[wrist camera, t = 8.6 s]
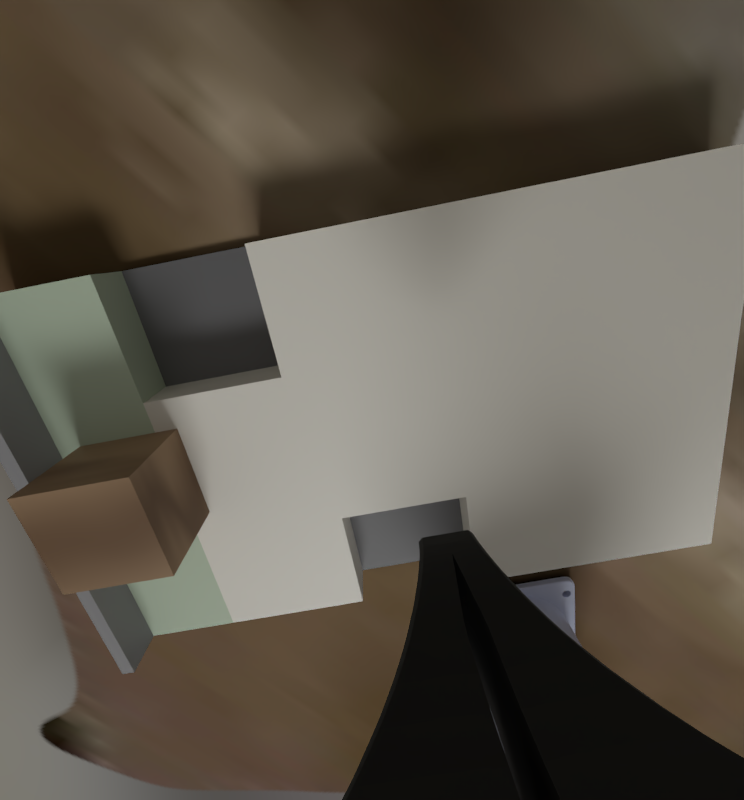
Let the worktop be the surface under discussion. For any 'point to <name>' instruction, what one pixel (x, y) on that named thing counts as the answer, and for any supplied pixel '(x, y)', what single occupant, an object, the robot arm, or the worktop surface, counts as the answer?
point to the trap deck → (405, 388)
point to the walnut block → (114, 512)
